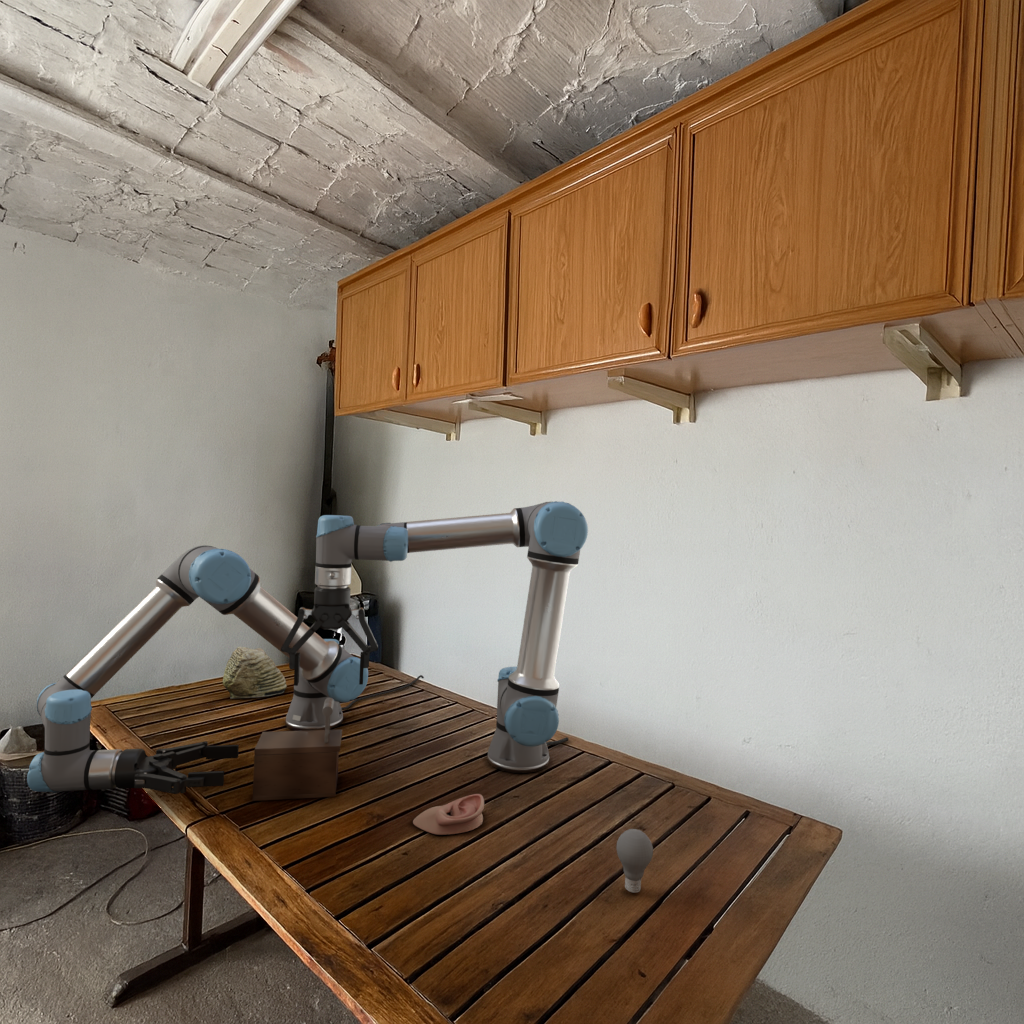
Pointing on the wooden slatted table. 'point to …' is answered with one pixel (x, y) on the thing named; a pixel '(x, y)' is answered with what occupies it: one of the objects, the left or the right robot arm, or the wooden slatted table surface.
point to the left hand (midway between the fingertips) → (231, 764)
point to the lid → (302, 738)
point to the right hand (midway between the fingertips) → (329, 683)
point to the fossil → (252, 674)
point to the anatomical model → (452, 816)
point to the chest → (295, 775)
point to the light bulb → (634, 857)
